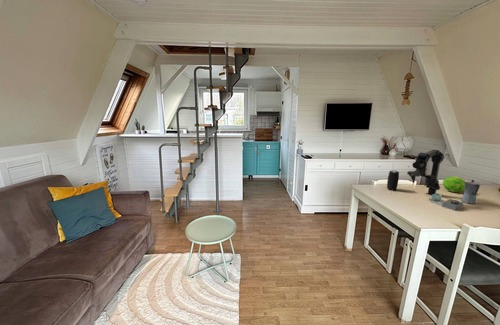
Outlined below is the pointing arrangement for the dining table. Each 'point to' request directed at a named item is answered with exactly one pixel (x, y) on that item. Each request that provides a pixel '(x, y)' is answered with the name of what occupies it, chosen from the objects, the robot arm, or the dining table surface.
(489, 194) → the dining table surface
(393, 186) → the portable speaker
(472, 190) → the moka pot
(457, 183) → the lettuce
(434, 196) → the mint block with knob
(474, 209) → the dining table surface
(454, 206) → the square frame
